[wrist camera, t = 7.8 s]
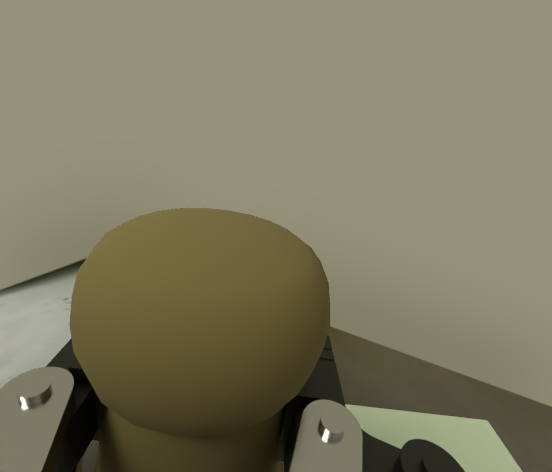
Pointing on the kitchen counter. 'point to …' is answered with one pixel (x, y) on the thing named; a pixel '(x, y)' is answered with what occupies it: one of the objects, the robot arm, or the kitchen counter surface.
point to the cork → (197, 338)
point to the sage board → (440, 436)
